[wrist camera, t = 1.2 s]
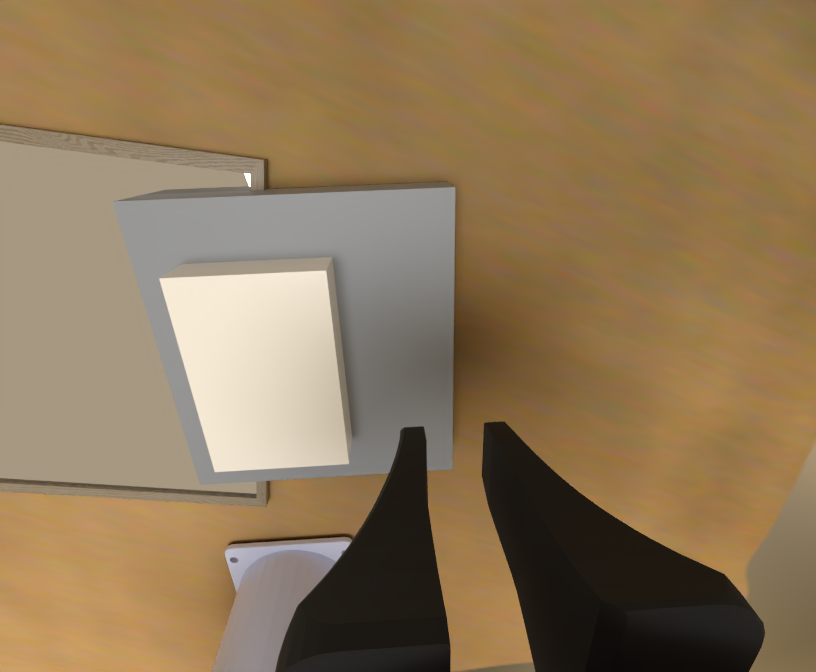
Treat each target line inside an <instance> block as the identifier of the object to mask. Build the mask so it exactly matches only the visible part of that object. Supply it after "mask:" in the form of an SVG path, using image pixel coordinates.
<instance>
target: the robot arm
mask: <svg viewBox="0 0 816 672" xmlns="http://www.w3.org/2000/svg"><path fill="white" fill-rule="evenodd" d="M482 478H483V483H484V488H485V492H486V497H487V501H488V506H489V509H490V512H491V515H492V518H493V521H494V524H495V527H496V530H497V533H498V536H499V538H500V541H501V544H502V547H503V550H504V553H505V556H506V559H507V562H508V565H509V568H510V571H511V573H512V577H513V580H514V583H515V587H516V590H517V594H518V598H519V602H520V606H521V611H522V615H523V619H524V623H525V627H526V632H527V636H528V640H529V645H530V649H531V654H532V658H533V662H534V666H535V672H749V670H750V668H751V666H752V664H753V663H754V660H755V659H756V657H757V655H758V652H759V651H760V648H761V646H762V643H763V639H764V635H765V630H764V625H763V622H762V621H761V619H760V618H759V617H758V615H757V614H756V613H755V611H754V610H753V609H752V607H751V606H750V605H749V604H748V602H747V601H746V599H745V598H744V597H743V595H742V594H741V593H740V592H739V590H738V589H737V588H736V587H735V586H734V585H733V583H732V582H731V581H730V580H729V579H728V578H727V577H726V576H725V574H723V573H720V572H718V571H716V570H714V569H712V568H709V567H707V566H705V565H703V564H701V563H699V562H696V561H694V560H692V559H690V558H688V557H685V556H683V555H681V554H679V553H677V552H675V551H673V550H671V549H669V548H667V547H665V546H664V545H662V544H660V543H658V542H656V541H654V540H652V539H650V538H648V537H647V536H645V535H643V534H641V533H640V532H638V531H636V530H634V529H633V528H631V527H630V526H628V525H626V524H625V523H623V522H622V521H620V520H618V519H617V518H615V517H613V516H612V515H610V514H609V513H607V512H606V511H604V510H603V509H601V508H600V507H599V506H597V505H596V504H594V503H593V502H592V501H590V500H589V499H588V498H586V497H585V496H583V495H582V494H581V493H579V492H578V491H577V490H576V489H574V488H573V487H572V486H571V485H569V484H568V483H567V482H566V481H565V480H563V479H562V478H561V477H560V476H559V475H558V474H557V473H555V472H554V471H553V470H552V469H551V468H550V467H549V466H548V465H547V464H546V463H545V462H544V461H543V460H541V459H540V458H539V457H538V456H537V455H536V454H535V453H534V452H533V451H532V450H531V449H530V448H529V447H528V446H527V445H526V444H525V443H524V442H523V441H522V440H521V438H520V437H519V436H518V435H517V434H516V433H515V432H514V431H513V430H512V429H511V428H510V427H509V426H508V425H507V424H506V423H505V422H488V423H484V441H483V462H482ZM225 557H226V560H227V564H228V567H229V570H230V573H231V577H232V580H233V583H234V587H235V590H236V593H237V594H236V597H235V600H234V603H233V606H232V609H231V612H230V615H229V618H228V622H227V625H226V628H225V631H224V634H223V637H222V640H221V643H220V646H219V649H218V652H217V655H216V658H215V661H214V664H213V667H212V670H211V672H450V640H449V632H448V625H447V617H446V611H445V606H444V601H443V596H442V591H441V585H440V580H439V574H438V568H437V562H436V556H435V550H434V544H433V537H432V531H431V524H430V517H429V510H428V486H427V440H426V435H425V430H424V426H419V427H404V428H403V429H402V430H401V431H400V439H399V444H398V448H397V452H396V455H395V458H394V461H393V464H392V467H391V469H390V472H389V475H388V477H387V479H386V482H385V484H384V486H383V488H382V490H381V492H380V495H379V497H378V499H377V501H376V503H375V504H374V506H373V508H372V510H371V512H370V513H369V515H368V517H367V519H366V520H365V522H364V524H363V525H362V527H361V528H360V530H359V531H358V533H357V534H356V536H355V537H354V539H353V540H351V539H350V538H348V537H336V538H320V539H305V540H290V541H274V542H259V543H244V544H232V545H229V546H227V548H226V550H225Z"/></svg>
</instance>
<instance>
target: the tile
mask: <svg viewBox="0 0 816 672" xmlns="http://www.w3.org/2000/svg"><path fill="white" fill-rule="evenodd" d="M159 280H160V283H161V287H162V290H163V294H164V297H165V301H166V304H167V308H168V311H169V315H170V318H171V322H172V325H173V329H174V332H175V336H176V339H177V343H178V346H179V349H180V353H181V356H182V360H183V363H184V367H185V370H186V374H187V377H188V381H189V384H190V388H191V391H192V395H193V398H194V402H195V405H196V409H197V412H198V416H199V419H200V423H201V426H202V430H203V433H204V436H205V440H206V443H207V447H208V450H209V454H210V457H211V461H212V464H213V468H214V471H215V472H226V471H243V470H260V469H276V468H293V467H309V466H326V465H342V464H349V460H350V451H351V442H352V431H351V421H350V412H349V403H348V394H347V385H346V376H345V367H344V358H343V349H342V340H341V331H340V322H339V313H338V304H337V294H336V285H335V276H334V267H333V258H332V257H321V258H299V259H278V260H256V261H235V262H213V263H191V264H182V265H180V266H179V267H177V268H175V269H174V270H172V271H170V272H169V273H167V274H166V275H164V276H162V277H161V278H159Z"/></svg>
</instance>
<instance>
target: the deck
mask: <svg viewBox="0 0 816 672" xmlns="http://www.w3.org/2000/svg"><path fill="white" fill-rule="evenodd" d="M112 202H113V205H114V209H115V212H116V215H117V218H118V221H119V225H120V228H121V231H122V234H123V238H124V241H125V244H126V247H127V250H128V254H129V257H130V260H131V263H132V267H133V270H134V273H135V276H136V279H137V283H138V286H139V289H140V292H141V296H142V299H143V302H144V305H145V308H146V312H147V315H148V318H149V321H150V325H151V328H152V331H153V334H154V337H155V341H156V344H157V347H158V350H159V354H160V357H161V360H162V363H163V366H164V370H165V373H166V376H167V379H168V383H169V386H170V389H171V392H172V395H173V399H174V402H175V405H176V408H177V412H178V415H179V418H180V421H181V424H182V428H183V431H184V434H185V437H186V441H187V444H188V447H189V450H190V453H191V457H192V460H193V463H194V466H195V470H196V473H197V476H198V479H199V482H200V485H208V484H224V483H241V482H257V481H273V480H290V479H306V478H322V477H338V476H355V475H371V474H387V473H389V472H390V469H391V467H392V464H393V461H394V458H395V455H396V452H397V448H398V444H399V439H400V431H401V430H402V429H403V428H404V427H419V426H424V430H425V435H426V440H427V471H436V470H452V459H453V363H454V266H455V187H454V186H453V185H451V184H450V183H448V182H447V181H446V182H422V183H398V184H374V185H349V186H325V187H301V188H277V189H266V190H258V191H250V190H248V191H224V192H200V193H175V194H151V195H139V196H135V197H130V198H126V199H121V200H117V201H112ZM321 257H332V258H333V267H334V276H335V285H336V294H337V304H338V313H339V322H340V331H341V340H342V349H343V358H344V367H345V376H346V385H347V394H348V403H349V412H350V421H351V431H352V442H351V451H350V460H349V464H342V465H326V466H309V467H293V468H276V469H260V470H243V471H226V472H215V471H214V468H213V464H212V461H211V457H210V454H209V450H208V447H207V443H206V440H205V436H204V433H203V430H202V426H201V423H200V419H199V416H198V412H197V409H196V405H195V402H194V398H193V395H192V391H191V388H190V384H189V381H188V377H187V374H186V370H185V367H184V363H183V360H182V356H181V353H180V349H179V346H178V343H177V339H176V336H175V332H174V329H173V325H172V322H171V318H170V315H169V311H168V308H167V304H166V301H165V297H164V294H163V290H162V287H161V283H160V280H159V278H161V277H162V276H164V275H166V274H167V273H169V272H170V271H172V270H174V269H175V268H177V267H179V266H180V265H182V264H191V263H213V262H235V261H256V260H278V259H299V258H321Z"/></svg>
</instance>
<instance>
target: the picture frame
mask: <svg viewBox="0 0 816 672" xmlns="http://www.w3.org/2000/svg"><path fill="white" fill-rule="evenodd" d="M266 189H267V159H260V158H252V157H245V156H238V155H230V154H223V153H215V152H208V151H200V150H193V149H185V148H178V147H170V146H163V145H155V144H148V143H140V142H133V141H125V140H118V139H110V138H103V137H95V136H88V135H80V134H73V133H66V132H58V131H51V130H43V129H36V128H28V127H21V126H13V125H6V124H0V491H3V492H20V493H37V494H54V495H72V496H89V497H106V498H123V499H140V500H157V501H174V502H191V503H208V504H225V505H243V506H260V507H267V504H268V501H269V481H257V482H241V483H224V484H208V485H200V482H199V479H198V476H197V473H196V470H195V466H194V463H193V460H192V457H191V453H190V450H189V447H188V444H187V441H186V437H185V434H184V431H183V428H182V424H181V421H180V418H179V415H178V412H177V408H176V405H175V402H174V399H173V395H172V392H171V389H170V386H169V383H168V379H167V376H166V373H165V370H164V366H163V363H162V360H161V357H160V354H159V350H158V347H157V344H156V341H155V337H154V334H153V331H152V328H151V325H150V321H149V318H148V315H147V312H146V308H145V305H144V302H143V299H142V296H141V292H140V289H139V286H138V283H137V279H136V276H135V273H134V270H133V267H132V263H131V260H130V257H129V254H128V250H127V247H126V244H125V241H124V238H123V234H122V231H121V228H120V225H119V221H118V218H117V215H116V212H115V209H114V205H113V202H112V201H117V200H121V199H126V198H130V197H135V196H139V195H151V194H175V193H200V192H224V191H248V190H250V191H258V190H266Z"/></svg>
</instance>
